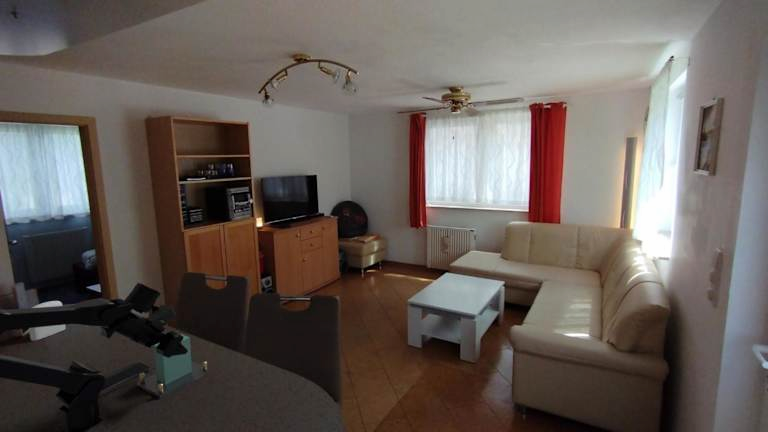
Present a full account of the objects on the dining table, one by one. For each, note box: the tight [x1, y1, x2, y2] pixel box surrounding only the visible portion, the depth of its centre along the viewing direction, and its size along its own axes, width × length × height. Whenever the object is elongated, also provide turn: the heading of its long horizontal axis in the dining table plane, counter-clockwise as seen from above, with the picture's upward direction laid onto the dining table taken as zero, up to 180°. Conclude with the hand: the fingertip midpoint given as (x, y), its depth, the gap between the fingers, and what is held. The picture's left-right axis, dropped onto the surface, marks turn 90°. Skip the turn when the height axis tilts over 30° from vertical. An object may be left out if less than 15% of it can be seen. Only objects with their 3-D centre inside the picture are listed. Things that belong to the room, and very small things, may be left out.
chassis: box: [137, 360, 211, 399], centre depth 108 cm, size 15×12×4 cm
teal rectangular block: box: [153, 333, 192, 385], centre depth 108 cm, size 8×4×11 cm, turn 150°
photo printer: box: [28, 300, 66, 342], centre depth 134 cm, size 10×4×12 cm, turn 160°
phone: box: [99, 361, 152, 397], centre depth 108 cm, size 8×1×15 cm
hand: (177, 348), depth 108 cm, fingers open, 9 cm apart
